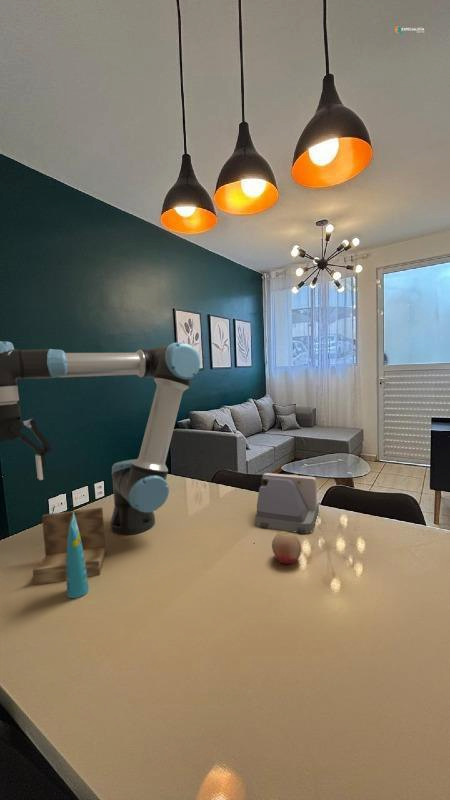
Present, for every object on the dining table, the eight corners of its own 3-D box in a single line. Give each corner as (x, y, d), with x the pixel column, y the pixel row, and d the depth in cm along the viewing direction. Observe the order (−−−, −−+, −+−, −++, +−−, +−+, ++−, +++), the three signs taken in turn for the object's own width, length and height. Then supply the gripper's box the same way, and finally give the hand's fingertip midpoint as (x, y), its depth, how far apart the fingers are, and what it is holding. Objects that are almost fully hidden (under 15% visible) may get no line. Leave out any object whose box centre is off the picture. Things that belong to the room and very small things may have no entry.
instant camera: (326, 514, 122) (325, 473, 121) (306, 539, 105) (305, 492, 104) (272, 504, 134) (271, 467, 132) (246, 525, 116) (245, 482, 115)
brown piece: (105, 552, 102) (102, 507, 101) (99, 574, 91) (95, 524, 90) (48, 561, 99) (43, 514, 98) (34, 584, 88) (29, 532, 86)
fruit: (304, 555, 95) (303, 528, 95) (297, 571, 88) (296, 541, 88) (276, 550, 99) (275, 524, 98) (268, 565, 92) (267, 536, 91)
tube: (89, 597, 81) (83, 520, 80) (67, 604, 79) (60, 525, 78) (87, 581, 88) (81, 509, 87) (66, 587, 86) (60, 513, 85)
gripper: (51, 398, 97) (58, 471, 99) (-63, 408, 80) (-52, 495, 82) (59, 399, 91) (66, 476, 93) (-62, 410, 75) (-50, 503, 77)
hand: (11, 485), depth 88 cm, fingers open, 13 cm apart
